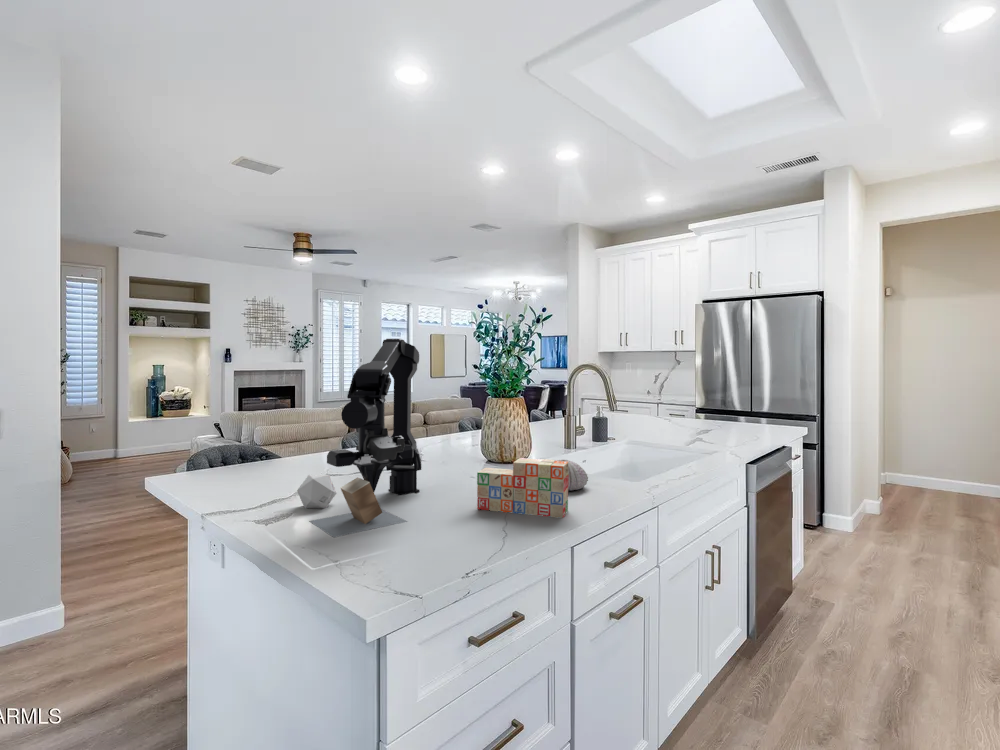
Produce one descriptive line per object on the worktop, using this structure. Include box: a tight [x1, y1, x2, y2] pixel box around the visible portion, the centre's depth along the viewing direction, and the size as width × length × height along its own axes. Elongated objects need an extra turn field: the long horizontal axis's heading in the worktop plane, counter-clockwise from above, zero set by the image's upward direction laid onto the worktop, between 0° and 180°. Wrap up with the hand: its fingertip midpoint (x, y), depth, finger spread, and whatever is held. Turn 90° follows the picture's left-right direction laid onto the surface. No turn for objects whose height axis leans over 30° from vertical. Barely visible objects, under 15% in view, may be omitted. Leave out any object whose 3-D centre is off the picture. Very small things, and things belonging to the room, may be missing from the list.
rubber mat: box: [308, 508, 409, 538], centre depth 118 cm, size 17×14×1 cm
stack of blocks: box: [476, 457, 569, 519], centre depth 128 cm, size 21×6×12 cm, turn 72°
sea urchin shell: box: [556, 459, 589, 492], centre depth 151 cm, size 13×14×8 cm
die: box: [296, 474, 338, 509], centre depth 130 cm, size 8×9×10 cm
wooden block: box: [340, 477, 382, 524], centre depth 118 cm, size 4×6×8 cm
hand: (371, 492), depth 120 cm, fingers closed
